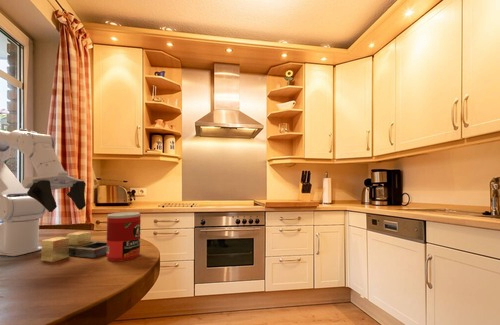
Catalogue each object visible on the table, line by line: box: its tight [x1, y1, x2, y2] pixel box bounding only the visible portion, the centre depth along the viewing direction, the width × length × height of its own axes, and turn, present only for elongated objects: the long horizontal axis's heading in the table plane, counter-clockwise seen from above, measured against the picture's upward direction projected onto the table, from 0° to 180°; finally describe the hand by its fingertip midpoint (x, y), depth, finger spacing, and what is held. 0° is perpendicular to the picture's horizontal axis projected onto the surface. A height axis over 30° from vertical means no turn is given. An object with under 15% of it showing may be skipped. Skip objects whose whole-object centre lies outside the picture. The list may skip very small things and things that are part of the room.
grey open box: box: [66, 230, 107, 259], centre depth 72 cm, size 14×8×5 cm, turn 72°
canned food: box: [106, 211, 142, 262], centre depth 67 cm, size 8×8×11 cm
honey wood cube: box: [40, 236, 69, 263], centre depth 66 cm, size 4×4×5 cm
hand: (68, 208), depth 66 cm, fingers open, 7 cm apart
